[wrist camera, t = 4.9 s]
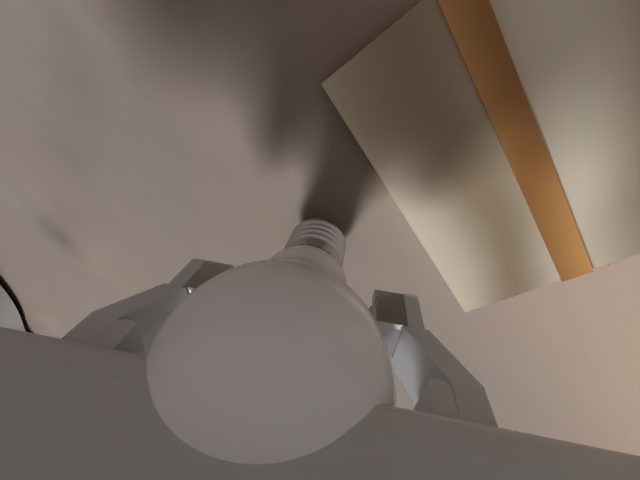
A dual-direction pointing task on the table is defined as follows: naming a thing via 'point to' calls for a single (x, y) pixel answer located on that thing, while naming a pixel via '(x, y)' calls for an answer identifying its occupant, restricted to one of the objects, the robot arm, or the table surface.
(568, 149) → the board
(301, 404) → the lightbulb
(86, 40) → the table surface
